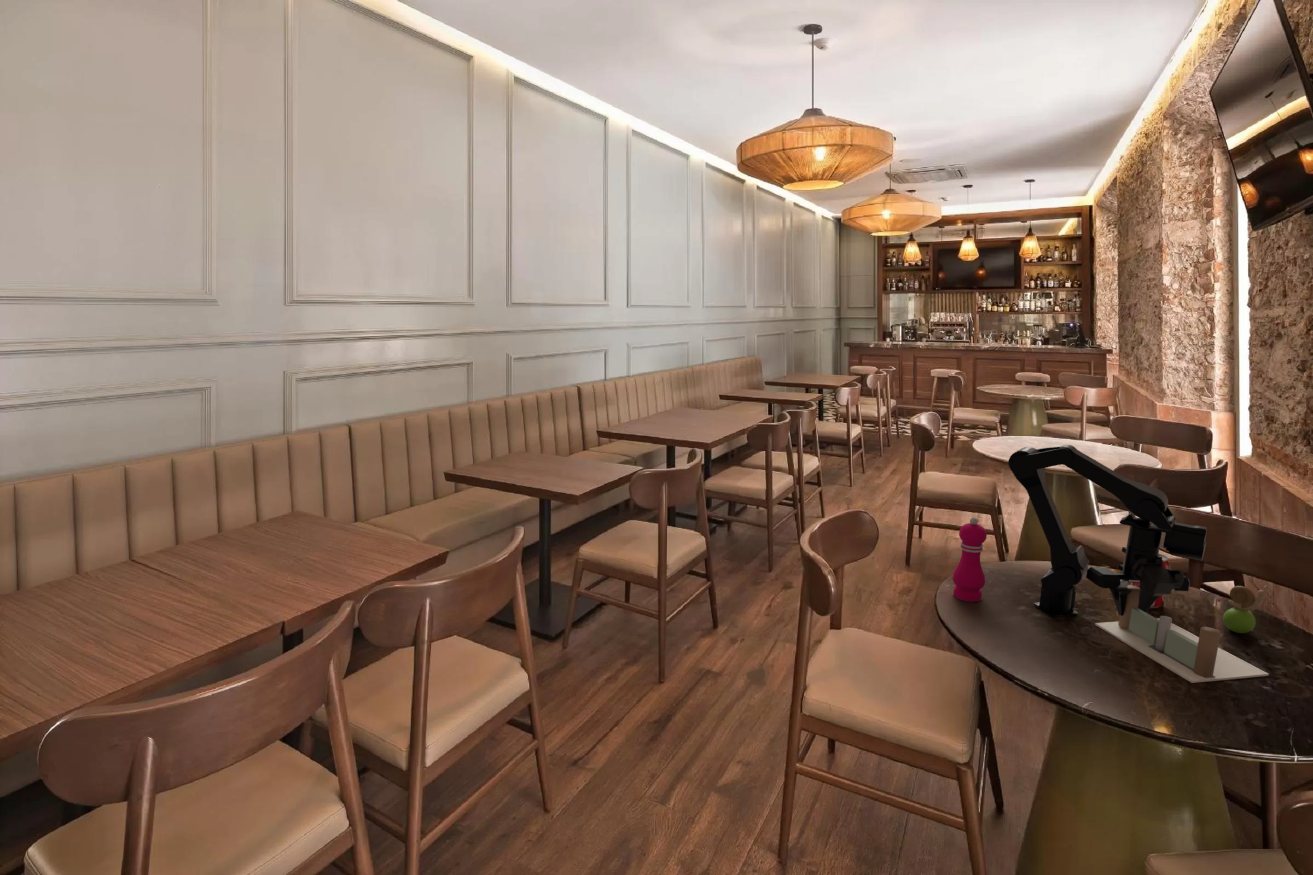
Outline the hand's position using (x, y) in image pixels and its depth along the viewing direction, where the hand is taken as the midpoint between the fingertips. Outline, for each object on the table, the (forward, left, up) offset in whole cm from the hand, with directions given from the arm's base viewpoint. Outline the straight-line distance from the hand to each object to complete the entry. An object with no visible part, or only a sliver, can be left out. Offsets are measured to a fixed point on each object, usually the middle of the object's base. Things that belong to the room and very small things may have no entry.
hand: (1130, 615), depth 153 cm
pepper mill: (-25, +21, -4) cm, 33 cm away
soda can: (+15, +11, -4) cm, 19 cm away
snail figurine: (+23, -5, -4) cm, 24 cm away
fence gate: (-1, -3, -3) cm, 4 cm away
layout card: (+3, -9, -4) cm, 10 cm away
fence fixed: (-1, -14, -3) cm, 15 cm away
